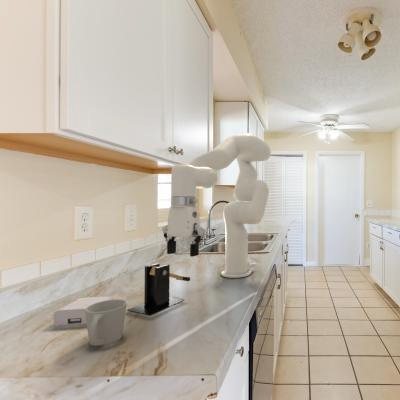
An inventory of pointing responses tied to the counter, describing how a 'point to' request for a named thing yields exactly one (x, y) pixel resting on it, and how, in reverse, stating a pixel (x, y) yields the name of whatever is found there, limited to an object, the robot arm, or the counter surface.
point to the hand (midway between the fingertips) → (182, 254)
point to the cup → (105, 321)
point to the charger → (76, 311)
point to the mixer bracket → (156, 291)
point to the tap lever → (171, 275)
